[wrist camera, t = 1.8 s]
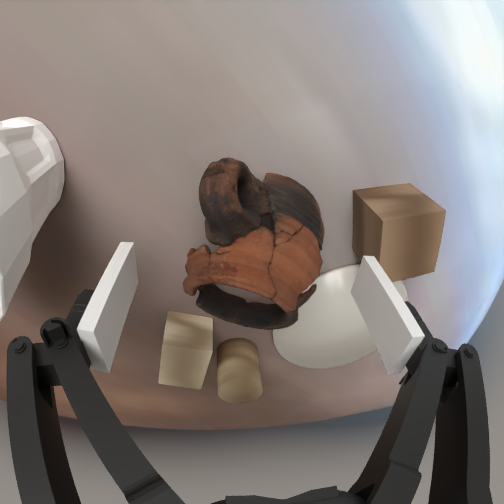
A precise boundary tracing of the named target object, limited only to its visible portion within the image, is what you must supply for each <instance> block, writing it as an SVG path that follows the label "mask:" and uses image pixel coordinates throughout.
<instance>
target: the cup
mask: <svg viewBox="0 0 504 504" xmlns="http://www.w3.org/2000/svg"><path fill="white" fill-rule="evenodd" d="M64 181H65V178H64V158H63V156H62V153H61V150H60V148H59V145H58V143H57V141H56V139H55V137H54V136H53V135H52V133H51V132H50V131H49V129H48V128H47V127H46V126H45V125H44V124H43V123H42V122H40V121H37V120H35V119H32V118H29V117H17V118H11V119H8V120H4V121H0V322H1V320H2V318H3V317H4V315H5V313H6V311H7V309H8V306H9V304H10V302H11V300H12V297H13V295H14V293H15V291H16V289H17V287H18V284H19V282H20V280H21V278H22V276H23V274H24V272H25V270H26V268H27V266H28V264H29V263H30V256H31V248H32V243H33V241H34V239H35V237H36V235H37V234H38V232H39V230H40V228H41V227H42V225H43V223H44V221H45V220H46V218H47V216H48V215H49V213H50V212H51V211H52V209H53V208H54V207H55V206H56V204H57V203H58V202H59V200H60V198H61V194H62V190H63V186H64Z"/></svg>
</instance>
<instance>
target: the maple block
mask: <svg viewBox="0 0 504 504" xmlns="http://www.w3.org/2000/svg"><path fill="white" fill-rule="evenodd" d="M212 352H213V318H209V317H203V316H197V315H191V314H185V313H180V312H174V311H169V310H168V313H167V319H166V325H165V331H164V337H163V344H162V353H161V362H160V372H159V383H161V384H166V385H173V386H179V387H186V388H193V389H201V387H202V384H203V381H204V378H205V374H206V371H207V368H208V365H209V362H210V359H211V355H212Z"/></svg>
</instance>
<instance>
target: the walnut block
mask: <svg viewBox="0 0 504 504" xmlns="http://www.w3.org/2000/svg"><path fill="white" fill-rule="evenodd" d="M445 214H446V210H445V209H443V208H442V207H441V206H440V205H438V204H437V203H436V202H434V201H433V200H432V199H430V198H429V197H428V196H427V195H425V194H424V193H422V192H421V191H420V190H418V189H417V188H416V187H414V186H413V185H411V184H410V183H407V184H398V185H390V186H382V187H374V188H366V189H358V190H353V242H352V248H353V250H354V251H355V253H356V254H357V256H358V258H359V259H360V261H362V258H363V256H374V257H375V258H376V260H377V261H378V263H379V264H380V266H381V267H382V268H383V270H384V271H385V273H386V274H387V276H388V277H389V279H390V280H391V282H396V281H400V280H404V279H408V278H412V277H416V276H420V275H423V274H427V273H431V272H434V270H435V266H436V262H437V257H438V252H439V248H440V243H441V238H442V232H443V227H444V221H445Z"/></svg>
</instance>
